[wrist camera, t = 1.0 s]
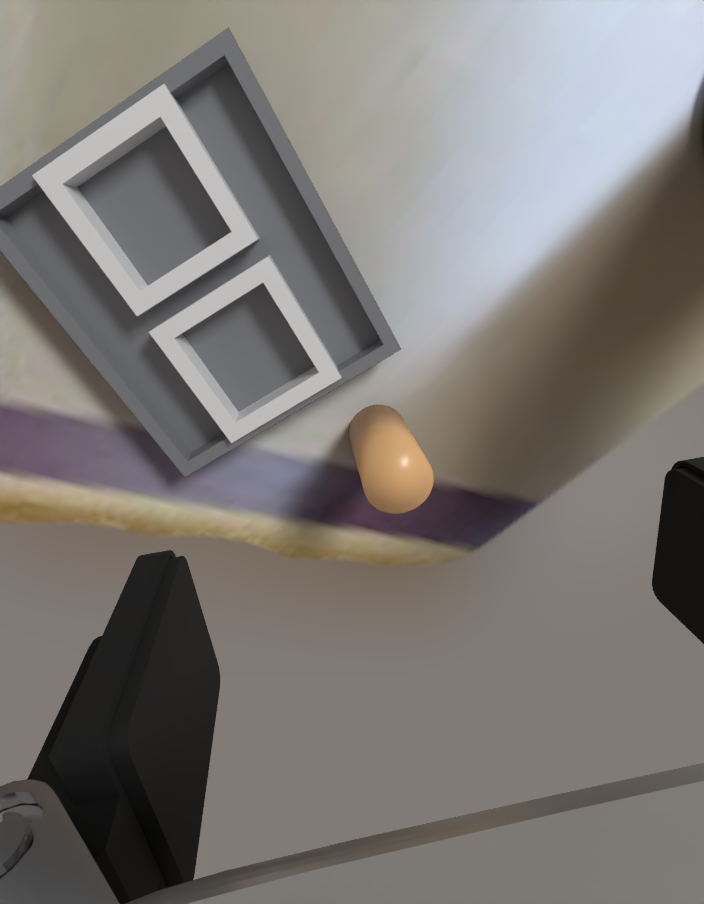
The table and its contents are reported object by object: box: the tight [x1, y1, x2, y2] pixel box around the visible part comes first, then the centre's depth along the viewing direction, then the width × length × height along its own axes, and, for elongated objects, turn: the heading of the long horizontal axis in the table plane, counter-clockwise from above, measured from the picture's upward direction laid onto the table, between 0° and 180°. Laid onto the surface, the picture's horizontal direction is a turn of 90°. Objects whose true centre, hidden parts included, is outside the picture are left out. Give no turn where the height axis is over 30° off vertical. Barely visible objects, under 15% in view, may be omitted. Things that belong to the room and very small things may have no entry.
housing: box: [0, 28, 401, 477], centre depth 30 cm, size 16×18×3 cm
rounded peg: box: [349, 405, 434, 514], centre depth 33 cm, size 4×4×8 cm
